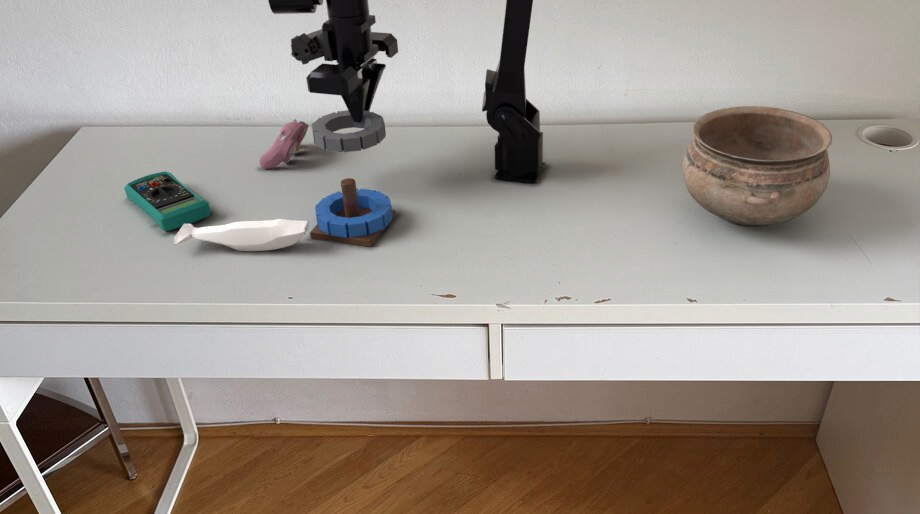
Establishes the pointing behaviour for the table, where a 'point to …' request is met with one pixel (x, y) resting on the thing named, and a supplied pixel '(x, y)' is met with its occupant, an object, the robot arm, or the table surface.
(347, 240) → the peg stand
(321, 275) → the table surface
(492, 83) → the robot arm
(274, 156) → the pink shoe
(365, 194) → the blue ring
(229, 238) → the toy fish
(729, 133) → the cooking pot
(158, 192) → the digital multimeter
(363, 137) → the grey ring
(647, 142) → the table surface
